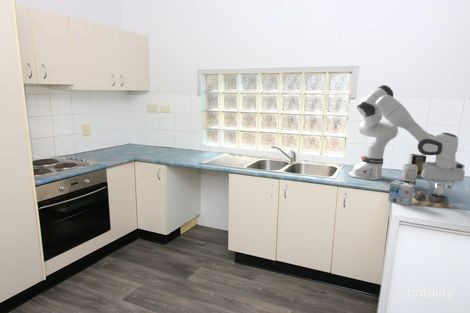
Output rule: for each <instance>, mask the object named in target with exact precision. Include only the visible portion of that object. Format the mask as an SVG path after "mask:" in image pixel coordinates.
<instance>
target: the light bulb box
mask: <svg viewBox="0 0 470 313" xmlns="http://www.w3.org/2000/svg"><path fill="white" fill-rule="evenodd" d="M415 189H416V184H415V185H413V184H409V183H404V182H401V180H400V181H399V180H396V179H395V180H393V181H391V182H390V186H389V192H388V198H387V201H390V202H393V203H395V204H400V205H403V206H406V207H409V205H411V204H413V202H412V199H413V196H414V193H415Z"/></svg>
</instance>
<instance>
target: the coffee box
mask: <svg viewBox="0 0 470 313" xmlns="http://www.w3.org/2000/svg"><path fill="white" fill-rule="evenodd" d="M426 161H427V155H424V154H417V153H410V154H409V157H408V163H407V164H414V165H417V167H418V172H417V178H416V179H423V178H422V177H421V173H422V170H423V164H424V163H426Z"/></svg>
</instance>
